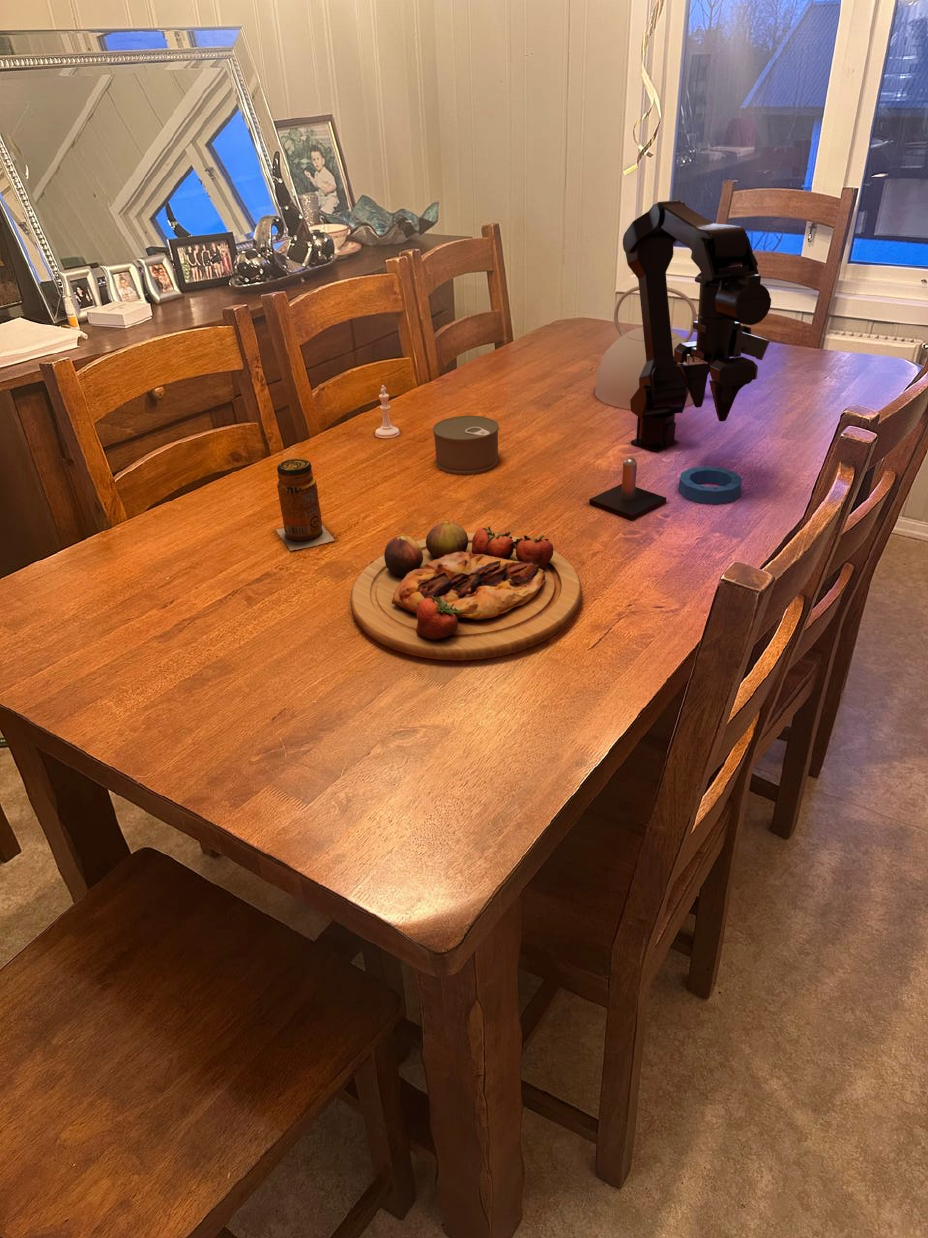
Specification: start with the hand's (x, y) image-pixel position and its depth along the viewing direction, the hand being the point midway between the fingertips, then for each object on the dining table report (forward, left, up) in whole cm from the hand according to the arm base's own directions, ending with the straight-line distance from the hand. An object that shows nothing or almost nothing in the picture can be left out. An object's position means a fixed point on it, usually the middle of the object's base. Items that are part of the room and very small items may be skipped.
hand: (710, 413), depth 144 cm
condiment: (-34, -59, -12) cm, 69 cm away
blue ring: (+3, -2, -12) cm, 13 cm away
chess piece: (-60, -22, -12) cm, 65 cm away
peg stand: (-4, -15, -12) cm, 20 cm away
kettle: (-35, +32, -12) cm, 49 cm away
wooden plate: (-1, -54, -12) cm, 56 cm away
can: (-37, -21, -12) cm, 44 cm away
